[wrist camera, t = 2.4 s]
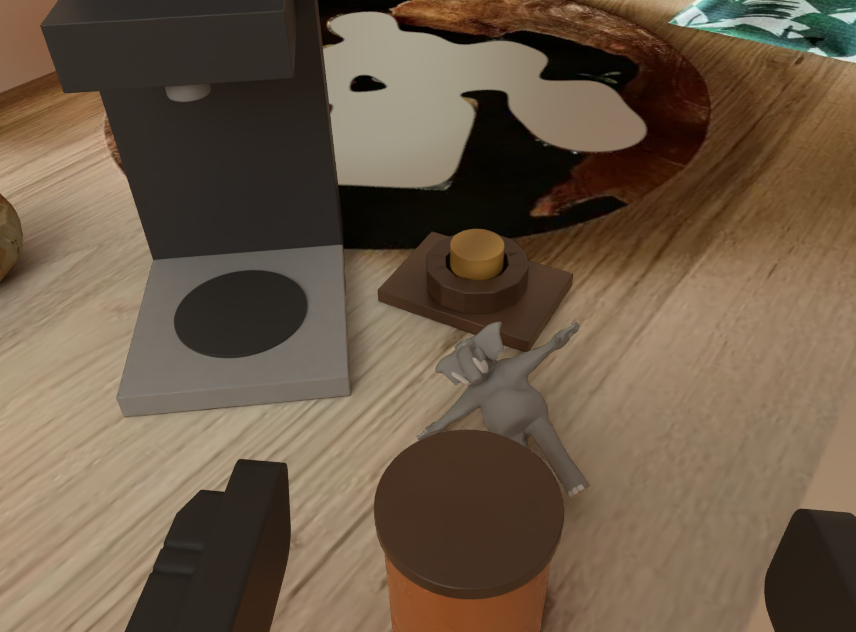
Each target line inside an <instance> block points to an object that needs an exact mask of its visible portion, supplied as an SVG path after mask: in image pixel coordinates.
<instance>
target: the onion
mask: <svg viewBox="0 0 856 632" xmlns="http://www.w3.org/2000/svg"><path fill="white" fill-rule="evenodd" d="M22 246H23V233H22V229H21V223H20V219H19V217H18V215H17V212H16V211H15V209H14V208H13V206H12V205H11V204H10V203H9V202H8V201H7V200H6V199H5V198H4V197H3V196H2V195H1V194H0V281H1V280H2V279H3V278H4V277H5V275H6V274H7V272H8V271H9V270H10V268H11V267H12V266H13V265H14V264H15V262H16V261H17V260H18V259H19V257H20V254H21V252H22Z"/></svg>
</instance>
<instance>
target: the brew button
mask: <svg viewBox="0 0 856 632" xmlns="http://www.w3.org/2000/svg"><path fill="white" fill-rule="evenodd" d="M503 262H504V242H503V240H502V238H501V237H500V236H499V235H497V234H496V233H494V232H491V231H488V230H483V229H471V230H466V231H462V232H460V233H458V234H457V235H455V236H454V237H453V239H452V240H451V243H450V267H451V269H452V271H453V272H454V273H455V274H456V275H457V276H458V277H460V278H463V279H466V280H469V281H480V280H489V279H492V278H494V277H496V276H497V275H498V274H500V272H501V271H502V269H503Z"/></svg>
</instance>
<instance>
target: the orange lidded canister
mask: <svg viewBox="0 0 856 632" xmlns="http://www.w3.org/2000/svg"><path fill="white" fill-rule="evenodd" d="M374 518H375V526H376V531H377V536H378V539H379V542H380V544H381V547H382V549H383V551H384V552H385V562H386V572H387V581H388V591H389V600H390V610H391V620H392V629H393V632H540V627H541V621H542V614H543V608H544V601H545V595H546V589H547V582H548V576H549V570H550V563H551V559H552V557H553V556H554V554H555V552H556V550H557V547H558V545H559V542H560V539H561V534H562V529H563V523H564V503H563V498H562V494H561V490H560V488H559V485H558V483H557V481H556V479H555V477H554V476H553V474H552V472H551V471H550V469H549V468H548V467H547V466H546V464H545V463H544V462H543V461H542V460H541V459H540V458H539V457H538V456H537V455H536V454H535V453H533V452H532V451H531V450H529V449H528V448H527V447H525V446H523V445H522V444H520V443H518V442H516V441H514V440H512V439H510V438H508V437H505V436H502V435H499V434H495V433H491V432H486V431H478V430H455V431H448V432H442V433H438V434H435V435H432V436H429V437H427V438H424V439H422V440H420V441H418V442H416V443H414V444H412V445H411V446H409V447H408V448H407V449H405V450H404V451H402V452H401V453H400V454H399V455H398V456H397V457H396V458H395V459H394V460H393V461H392V462H391V464H390V465H389V466H388V467H387V469H386V470H385V472H384V474H383V475H382V477H381V479H380V482H379V484H378V487H377V490H376V494H375V501H374Z"/></svg>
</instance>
